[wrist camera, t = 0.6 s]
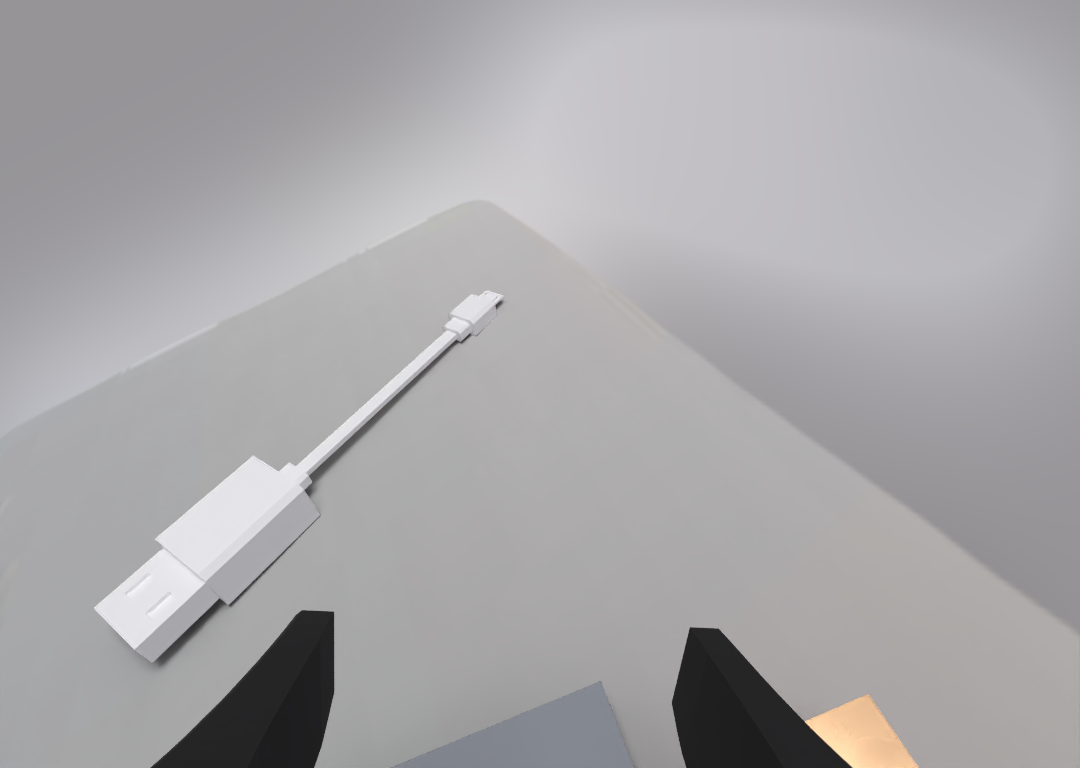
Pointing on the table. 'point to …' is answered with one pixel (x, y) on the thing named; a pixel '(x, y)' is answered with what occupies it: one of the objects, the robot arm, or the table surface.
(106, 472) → the table surface
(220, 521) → the charging cable
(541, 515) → the table surface
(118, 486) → the table surface
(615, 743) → the board with square hole
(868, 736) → the brown wooden block
